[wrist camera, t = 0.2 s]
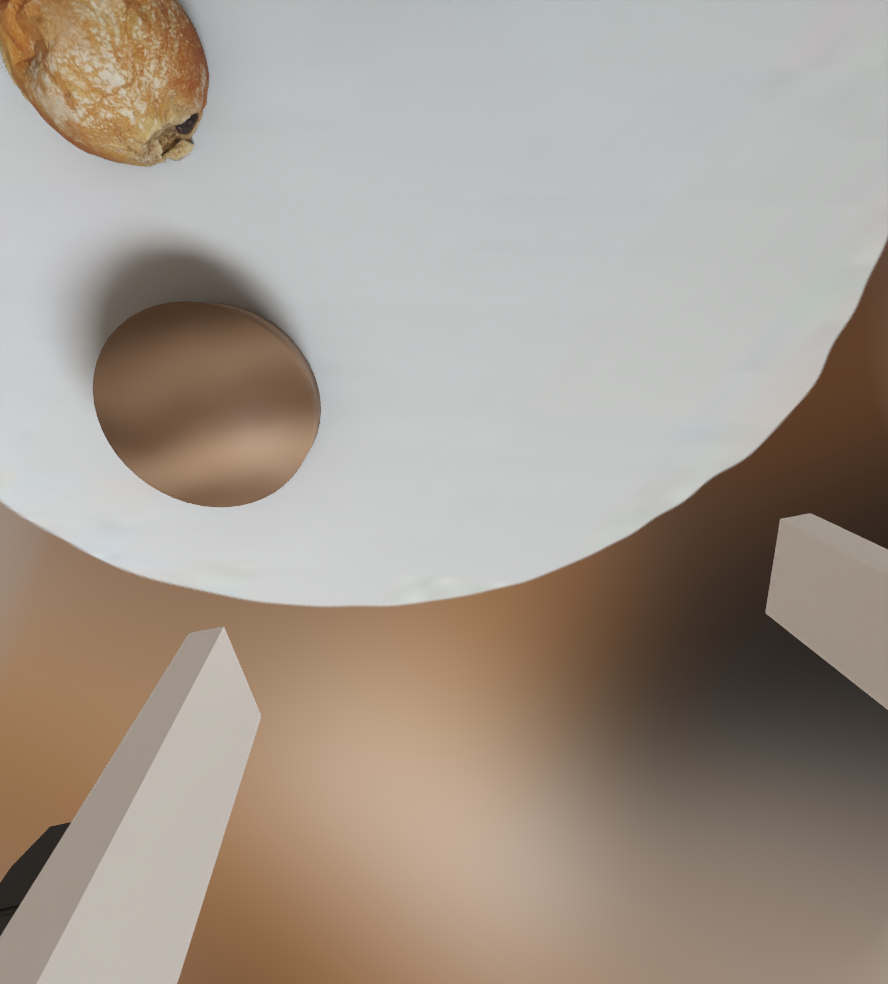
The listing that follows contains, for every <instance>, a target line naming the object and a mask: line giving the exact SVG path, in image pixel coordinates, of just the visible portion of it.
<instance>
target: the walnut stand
mask: <svg viewBox="0 0 888 984" xmlns="http://www.w3.org/2000/svg"><path fill="white" fill-rule="evenodd" d="M93 395H94V405H95V409H96V413H97V417H98V420H99V423H100V425H101V428H102V431H103V432H104V434H105V436H106V438H107V440H108V442H109V444H110V445H111V447H112V448H113V450H114V451H115V453H116V454H117V455H118V457H119V458H120V459H121V460H122V461H123V462H124V464H125V465H126V466H127V467H128V468H129V469H130V470H131V471H133V472H134V473H135V474H136V475H137V476H138V477H139V478H141V479H142V480H143V481H145V482H146V483H147V484H149V485H150V486H152V487H154V488H155V489H157V490H159V491H160V492H162V493H164V494H167V495H169V496H171V497H173V498H176V499H179V500H181V501H184V502H187V503H192V504H196V505H201V506H209V507H232V506H240V505H244V504H248V503H252V502H255V501H258V500H260V499H263V498H265V497H267V496H269V495H270V494H272V493H274V492H276V491H277V490H278V489H280V488H281V487H282V486H284V485H285V484H286V483H287V482H288V481H289V480H290V479H291V478H292V477H293V476H294V474H295V473H296V472H297V470H298V469H299V468H300V466H301V464H302V462H303V461H304V459H305V457H306V455H307V454H308V452H309V450H310V448H311V447H312V445H313V443H314V440H315V438H316V435H317V432H318V428H319V424H320V415H321V404H320V395H319V390H318V386H317V382H316V379H315V376H314V374H313V372H312V369H311V367H310V365H309V363H308V362H307V360H306V358H305V357H304V355H303V353H302V352H301V351H300V350H299V348H298V347H297V346H296V345H295V343H294V342H293V341H292V340H291V339H290V338H289V337H288V336H287V335H286V334H285V333H284V332H283V331H281V330H280V329H279V328H278V327H276V326H275V325H274V324H272V323H271V322H269V321H267V320H266V319H264V318H262V317H261V316H259V315H256V314H254V313H252V312H250V311H247V310H244V309H241V308H238V307H235V306H230V305H224V304H214V303H199V302H173V303H166V304H161V305H157V306H153V307H151V308H148V309H146V310H143V311H141V312H139V313H137V314H135V315H134V316H132V317H130V318H129V319H127V320H126V321H125V322H124V323H123V324H121V325H120V326H119V327H118V328H117V329H116V330H115V331H114V332H113V334H112V335H111V336H110V337H109V338H108V340H107V342H106V343H105V345H104V347H103V348H102V350H101V353H100V355H99V358H98V360H97V363H96V368H95V372H94V380H93Z"/></svg>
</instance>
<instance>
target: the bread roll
mask: <svg viewBox="0 0 888 984" xmlns="http://www.w3.org/2000/svg"><path fill="white" fill-rule="evenodd" d="M0 47H1V49H0V50H1V54H2V57H3V60H4V63H5V66H6V68H7V70H8V72H9V74H10V76H11V78H12V80H13V82H14V84H16V85H17V86H18V87H19V89H20V90H21V92H22V94H23V96H24V97H25V98H26V99H27V100H28V101H29V102H30V103H31V104H32V105H33V106H34V107H35V109H36V110H37V111H38V113H39V114H40V115H41V116H42V118H43V119H44V120H45V121H46V122H47V123H48V124H49V125H50V126H51V127H52V128H53V129H55V130H56V131H57V132H58V133H59V134H60V135H62V136H63V137H64V138H65V139H66V140H68V141H69V142H70V143H72V144H73V145H75V146H76V147H77V148H79V149H81V150H83V151H85V152H87V153H89V154H92V155H96V156H99V157H102V158H104V159H107V160H110V161H113V162H118V163H124V164H130V165H136V166H145V167H150V166H153V165H156V164H157V163H161V162H165V160H166V158H170V159H172V160H175V161H179V160H181V159H182V158H184V157H185V156H187V155H189V154H190V152H191V150H192V148H193V146H194V143H193V142H192V141H191V138H192V135H193V134H194V133H195V131H196V129H197V127H198V124H199V122H200V120H201V117H202V112H203V109H204V107H205V105H206V102H207V91H208V87H209V72H208V67H207V62H206V58H205V54H204V51H203V48H202V45H201V42H200V40H199V37H198V35H197V32H196V30H195V28H194V26H193V24H192V22H191V20H190V19H189V17H188V16H187V14H186V13H185V11H184V10H183V8H182V6H181V5H180V3H179V2H178V1H177V0H0Z"/></svg>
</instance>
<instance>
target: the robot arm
mask: <svg viewBox="0 0 888 984" xmlns="http://www.w3.org/2000/svg"><path fill="white" fill-rule="evenodd" d="M766 614H767V615H769V616H770V617H771V618H772V619H774V620H775V621H776V622H778V623H779V624H780V625H781V626H782V627H784V628H785V629H786V630H788V631H789V632H790V633H791V634H793V635H794V636H795V637H796V638H798V639H799V640H800V641H801V642H803V643H804V644H805V645H807V646H808V647H809V648H810V649H812V650H813V651H814V652H815V653H817V654H818V655H819V656H821V657H822V658H823V659H824V660H826V661H827V662H828V663H829V664H831V665H832V666H833V667H834V668H836V669H837V670H838V671H839V672H841V673H842V674H843V675H844V676H846V677H847V678H848V679H850V680H851V681H852V682H853V683H855V684H856V685H857V686H858V687H860V688H861V689H862V690H863V691H865V692H866V693H867V694H869V695H870V696H871V697H872V698H874V699H875V700H876V701H877V702H879V703H880V704H881V705H882V706H884V707H885V708H886V709H888V550H887V549H885V548H883V547H881V546H879V545H876V544H875V543H873V542H870V541H868V540H866V539H864V538H862V537H860V536H858V535H856V534H853V533H851V532H849V531H847V530H845V529H842V528H841V527H839V526H836V525H834V524H832V523H830V522H828V521H826V520H824V519H821V518H819V517H817V516H815V515H813V514H805V515H799V516H794V517H789V518H784V519H780V524H779V530H778V537H777V543H776V550H775V556H774V562H773V568H772V575H771V581H770V587H769V594H768V600H767V607H766ZM260 718H261V715H260V712H259V710H258V707H257V705H256V702H255V700H254V698H253V695H252V693H251V690H250V688H249V686H248V683H247V681H246V678H245V676H244V674H243V671H242V669H241V666H240V664H239V662H238V659H237V657H236V655H235V652H234V650H233V647H232V645H231V642H230V640H229V638H228V635H227V633H226V631H225V628H224V627H219V628H214V629H209V630H203V631H198V632H193V633H189V634H188V636H187V637H186V639H185V641H184V642H183V644H182V645H181V647H180V649H179V650H178V652H177V653H176V655H175V657H174V658H173V660H172V661H171V663H170V665H169V666H168V668H167V669H166V671H165V673H164V674H163V676H162V677H161V679H160V681H159V682H158V684H157V685H156V687H155V689H154V690H153V692H152V694H151V695H150V697H149V698H148V700H147V702H146V703H145V705H144V707H143V708H142V710H141V711H140V713H139V715H138V716H137V718H136V719H135V721H134V723H133V724H132V726H131V727H130V729H129V731H128V732H127V734H126V735H125V737H124V739H123V740H122V742H121V743H120V745H119V747H118V748H117V750H116V751H115V753H114V755H113V756H112V758H111V759H110V761H109V763H108V764H107V766H106V767H105V769H104V771H103V772H102V774H101V775H100V777H99V779H98V780H97V782H96V784H95V785H94V787H93V789H92V790H91V792H90V793H89V795H88V796H87V798H86V800H85V801H84V803H83V804H82V806H81V808H80V809H79V811H78V812H77V814H76V816H75V817H74V819H73V821H72V822H70V823H65V824H61V825H56V826H51V827H49V828H48V830H47V831H46V832H45V833H44V834H43V835H42V836H41V837H40V838H39V839H38V840H37V841H36V842H35V843H34V844H33V845H32V846H31V847H30V848H29V849H28V850H27V851H26V852H25V853H24V854H23V856H21V857H20V858H19V860H18V861H17V862H16V863H15V864H14V865H13V866H12V867H11V868H10V870H9V871H8V872H7V874H6V875H5V877H4V878H3V880H2V881H1V883H0V984H177V982H178V979H179V976H180V973H181V970H182V966H183V963H184V960H185V957H186V954H187V951H188V947H189V944H190V941H191V938H192V935H193V931H194V928H195V925H196V922H197V918H198V915H199V912H200V909H201V906H202V903H203V900H204V896H205V893H206V890H207V887H208V884H209V880H210V877H211V874H212V871H213V868H214V865H215V861H216V858H217V855H218V852H219V849H220V846H221V842H222V839H223V836H224V833H225V830H226V826H227V823H228V820H229V817H230V814H231V811H232V807H233V804H234V801H235V798H236V794H237V791H238V788H239V785H240V782H241V778H242V776H243V772H244V769H245V766H246V763H247V760H248V757H249V753H250V750H251V747H252V744H253V741H254V737H255V734H256V731H257V728H258V724H259V721H260Z"/></svg>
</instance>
